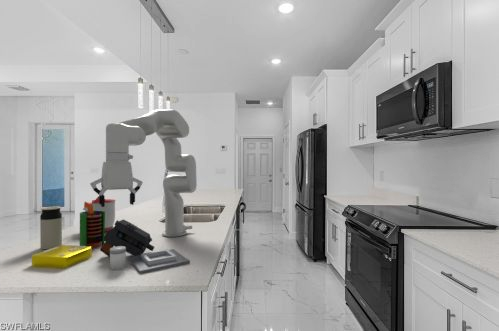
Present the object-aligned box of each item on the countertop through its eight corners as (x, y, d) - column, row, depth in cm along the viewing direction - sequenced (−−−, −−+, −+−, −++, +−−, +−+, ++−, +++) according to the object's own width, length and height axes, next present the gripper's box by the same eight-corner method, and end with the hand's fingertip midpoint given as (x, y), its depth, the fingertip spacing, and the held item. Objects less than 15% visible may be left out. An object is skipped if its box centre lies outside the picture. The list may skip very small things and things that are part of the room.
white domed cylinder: (124, 263, 107) (124, 245, 107) (127, 268, 103) (127, 248, 103) (108, 266, 104) (108, 247, 104) (111, 271, 100) (111, 251, 100)
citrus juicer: (94, 227, 170) (94, 193, 170) (121, 228, 168) (121, 194, 168) (74, 233, 155) (74, 196, 155) (104, 234, 152) (104, 197, 152)
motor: (91, 250, 124) (91, 204, 124) (74, 249, 126) (73, 203, 126) (107, 243, 134) (107, 201, 134) (91, 243, 136) (90, 201, 136)
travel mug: (65, 246, 131) (65, 206, 131) (47, 250, 124) (47, 209, 124) (55, 244, 134) (54, 205, 134) (36, 248, 127) (36, 208, 127)
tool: (101, 247, 119) (119, 215, 119) (142, 268, 120) (160, 237, 121) (94, 251, 113) (114, 218, 113) (138, 274, 114) (157, 241, 115)
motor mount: (173, 251, 122) (173, 245, 122) (189, 263, 107) (189, 256, 107) (128, 259, 112) (128, 253, 112) (140, 273, 97) (139, 266, 97)
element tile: (62, 254, 120) (62, 243, 120) (94, 256, 117) (93, 245, 117) (28, 267, 105) (28, 254, 105) (63, 270, 102) (63, 256, 102)
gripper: (139, 158, 111) (139, 202, 111) (89, 158, 102) (89, 206, 102) (144, 158, 105) (144, 204, 105) (91, 157, 95) (91, 208, 95)
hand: (117, 205), depth 103 cm, fingers open, 9 cm apart
